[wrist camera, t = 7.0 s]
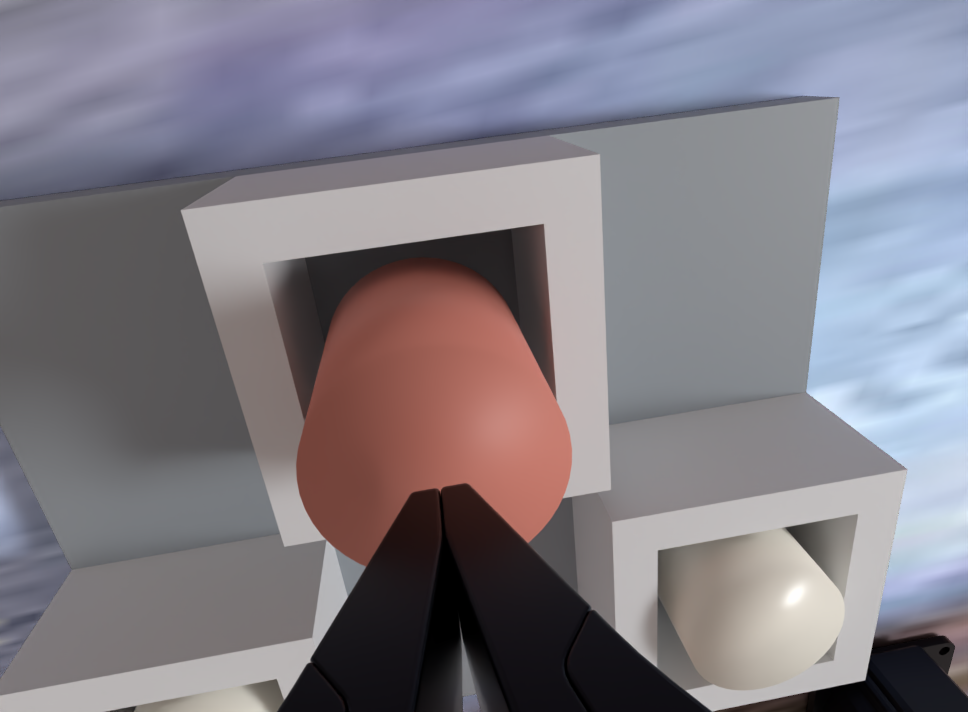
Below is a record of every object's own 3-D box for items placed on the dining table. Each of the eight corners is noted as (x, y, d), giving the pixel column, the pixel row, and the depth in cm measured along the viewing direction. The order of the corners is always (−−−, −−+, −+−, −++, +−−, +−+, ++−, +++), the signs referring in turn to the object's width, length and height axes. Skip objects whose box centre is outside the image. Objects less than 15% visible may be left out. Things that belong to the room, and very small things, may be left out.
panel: (758, 606, 27) (852, 742, 21) (176, 718, 25) (114, 898, 19) (806, 95, 18) (980, 103, 13) (-61, 208, 17) (-283, 272, 11)
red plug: (525, 416, 16) (578, 554, 11) (347, 445, 15) (329, 599, 11) (508, 243, 14) (564, 323, 9) (307, 273, 14) (264, 370, 9)
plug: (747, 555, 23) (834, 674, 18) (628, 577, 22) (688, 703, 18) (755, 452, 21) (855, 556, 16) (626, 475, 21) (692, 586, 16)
